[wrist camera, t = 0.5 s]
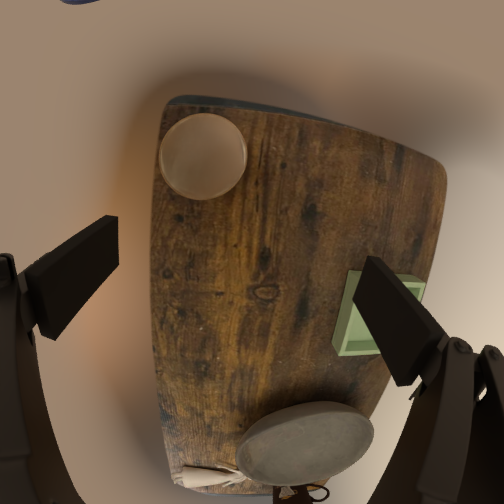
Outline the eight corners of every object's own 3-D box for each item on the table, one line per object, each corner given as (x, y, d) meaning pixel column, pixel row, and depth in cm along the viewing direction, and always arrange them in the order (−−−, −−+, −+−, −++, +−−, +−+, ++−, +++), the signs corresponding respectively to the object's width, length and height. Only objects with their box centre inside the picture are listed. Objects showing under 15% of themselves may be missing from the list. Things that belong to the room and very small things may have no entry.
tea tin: (189, 135, 27) (164, 111, 17) (246, 139, 28) (252, 116, 17) (182, 191, 29) (154, 197, 18) (239, 196, 29) (242, 204, 19)
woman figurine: (165, 473, 36) (262, 469, 38) (166, 456, 40) (259, 452, 42) (179, 495, 39) (263, 492, 41) (179, 480, 43) (260, 476, 45)
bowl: (237, 457, 41) (238, 490, 33) (230, 383, 36) (230, 425, 28) (345, 444, 42) (356, 473, 34) (370, 368, 37) (392, 401, 29)
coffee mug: (265, 487, 45) (269, 520, 35) (270, 471, 43) (276, 509, 33) (314, 482, 46) (322, 514, 36) (323, 466, 44) (334, 501, 34)
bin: (348, 270, 32) (359, 279, 29) (412, 274, 33) (425, 282, 30) (330, 342, 35) (338, 356, 32) (392, 340, 36) (402, 351, 33)
